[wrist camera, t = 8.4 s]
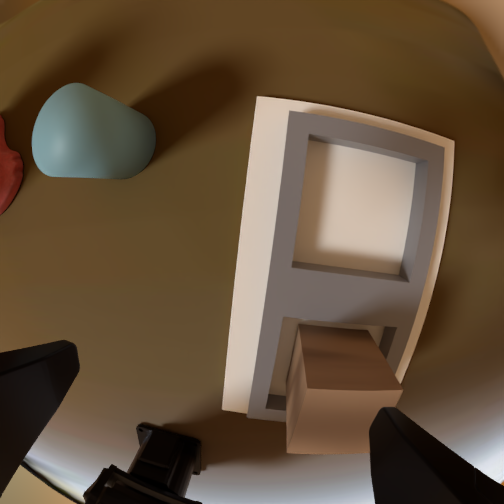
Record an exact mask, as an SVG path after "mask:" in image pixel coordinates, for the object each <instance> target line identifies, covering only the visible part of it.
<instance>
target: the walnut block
mask: <svg viewBox="0 0 504 504" xmlns="http://www.w3.org/2000/svg"><path fill="white" fill-rule="evenodd" d="M402 392H403V388H402V387H401V385H400V383H399V381H398V380H397V378H396V376H395V374H394V373H393V371H392V369H391V368H390V366H389V364H388V362H387V361H386V359H385V357H384V356H383V354H382V352H381V351H380V349H379V347H378V346H377V344H376V342H375V341H374V339H373V338H372V336H371V334H370V333H369V331H368V330H360V329H347V328H336V327H325V326H315V325H305V324H298V328H297V333H296V338H295V342H294V347H293V352H292V357H291V361H290V366H289V370H288V375H287V379H286V425H287V453H296V454H355V453H370V445H369V428H370V426H371V424H372V422H373V420H374V419H375V417H376V415H377V413H378V411H379V410H380V409H381V408H382V407H395V406H396V404H397V402H398V400H399V398H400V396H401V394H402Z"/></svg>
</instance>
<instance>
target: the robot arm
mask: <svg viewBox="0 0 504 504" xmlns="http://www.w3.org/2000/svg"><path fill="white" fill-rule="evenodd" d="M79 369H80V364H79V358H78V352H77V347H76V345H75V344H74V343H72V342H69V341H67V340H60V341H56V342H51V343H47V344H42V345H37V346H32V347H27V348H22V349H17V350H12V351H7V352H2V353H0V497H1V496H2V493H3V492H4V490H5V488H6V487H7V485H8V483H9V482H10V480H11V478H12V477H13V475H14V474H15V472H16V470H17V469H18V467H19V465H20V464H21V462H22V461H23V459H24V458H25V456H26V455H27V453H28V451H29V450H30V448H31V447H32V445H33V444H34V442H35V441H36V439H37V438H38V436H39V435H40V433H41V432H42V431H43V429H44V428H45V426H46V425H47V423H48V422H49V420H50V419H51V418H52V416H53V415H54V413H55V412H56V410H57V409H58V407H59V406H60V404H61V402H62V401H63V399H64V397H65V395H66V393H67V392H68V390H69V388H70V386H71V385H72V383H73V381H74V379H75V378H76V376H77V374H78V372H79ZM136 430H137V435H138V439H139V444H140V448H139V450H138V452H137V454H136V456H135V458H134V460H133V462H132V464H131V466H130V467H129V469H128V471H127V473H126V472H124V471H122V470H120V469H119V468H117V466H115V465H113V464H111V466H110V467H109V469H108V468H104V469H103V470H102V472H101V474H100V475H99V477H98V478H97V480H96V481H95V482H94V483H93V484H92V485H91V486H90V487H89V488H88V489H87V490H86V491H85V492H84V494H83V497H84V500H85V504H202V502H199V501H193V500H190V499H187V498H185V495H186V492H187V488H188V485H189V482H190V479H191V476H192V474H194V475H200V472H201V442H200V441H199V440H197V439H194V438H189V437H185V436H181V435H177V434H173V433H169V432H165V431H162V430H158V429H155V428H151V427H148V426H145V425H142V424H139V425H138V426H137V427H136ZM369 445H370V464H371V478H372V485H373V492H374V499H375V504H504V486H503V485H501V484H499V483H498V482H496V481H494V480H493V479H491V478H490V477H488V476H487V475H485V474H484V473H482V472H481V471H480V470H478V469H477V468H474V466H472V465H471V464H470V463H468V462H467V461H466V460H464V459H463V458H461V457H460V456H459V455H457V454H456V453H455V452H453V451H452V450H451V449H449V448H448V447H447V446H445V445H444V444H443V443H441V442H440V441H439V440H437V439H436V438H435V437H433V436H432V435H431V434H429V433H428V432H427V431H425V430H424V429H423V428H421V427H420V426H419V425H417V424H416V423H415V422H414V421H412V420H411V419H410V418H408V417H407V416H406V415H405V414H403V413H402V412H401V411H399V410H398V409H397V408H395V407H382V408H381V409H380V410H379V411H378V413H377V415H376V417H375V419H374V420H373V422H372V424H371V426H370V428H369Z"/></svg>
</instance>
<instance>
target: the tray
mask: <svg viewBox="0 0 504 504" xmlns="http://www.w3.org/2000/svg"><path fill="white" fill-rule="evenodd" d="M453 165H454V141H453V140H450V139H448V138H445V137H442V136H439V135H437V134H434V133H431V132H428V131H425V130H422V129H419V128H416V127H413V126H409V125H406V124H403V123H399V122H396V121H392V120H389V119H385V118H381V117H377V116H374V115H369V114H365V113H361V112H357V111H352V110H347V109H343V108H338V107H332V106H327V105H321V104H315V103H309V102H303V101H296V100H288V99H280V98H271V97H260V96H257V101H256V108H255V116H254V124H253V131H252V139H251V147H250V155H249V163H248V171H247V179H246V188H245V196H244V204H243V213H242V221H241V230H240V239H239V248H238V257H237V266H236V275H235V284H234V293H233V303H232V312H231V322H230V331H229V341H228V351H227V361H226V372H225V382H224V393H223V404H222V410H227V411H233V412H239V413H246V414H247V418H253V419H261V420H270V421H280V422H286V379H287V375H288V370H289V366H290V361H291V357H292V352H293V347H294V342H295V338H296V333H297V328H298V324H305V325H315V326H325V327H336V328H347V329H360V330H368V331H369V333H370V334H371V336H372V338H373V339H374V341H375V342H376V344H377V346H378V347H379V349H380V351H381V352H382V354H383V356H384V357H385V359H386V361H387V362H388V364H389V366H390V368H391V369H392V371H393V373H394V374H395V376H396V378H397V380H398V381H399V383H400V384H401V381H402V379H403V377H404V374H405V372H406V370H407V367H408V365H409V362H410V360H411V357H412V354H413V352H414V349H415V346H416V344H417V341H418V338H419V335H420V332H421V329H422V326H423V323H424V320H425V317H426V314H427V310H428V307H429V304H430V300H431V297H432V293H433V289H434V285H435V281H436V277H437V273H438V269H439V265H440V260H441V255H442V250H443V245H444V240H445V234H446V228H447V222H448V215H449V208H450V200H451V190H452V179H453Z"/></svg>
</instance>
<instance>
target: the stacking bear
mask: <svg viewBox="0 0 504 504" xmlns="http://www.w3.org/2000/svg"><path fill="white" fill-rule="evenodd" d="M4 129H5V125H4V120H3V119H2V116H1V115H0V215H1V214H2V213H3V212H4V211H5V210H6V209H7V207H8V206H9V205H10V203H11V202H12V200H13V198H14V196H15V195H16V193H17V191H18V189H19V186H20V184H21V181H22V177H23V162H22V160H21V157H20V154H19V153H18V152H16V151H12V150H10V149H9V148H8V146H7V145H6V142H5V137H4Z"/></svg>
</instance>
